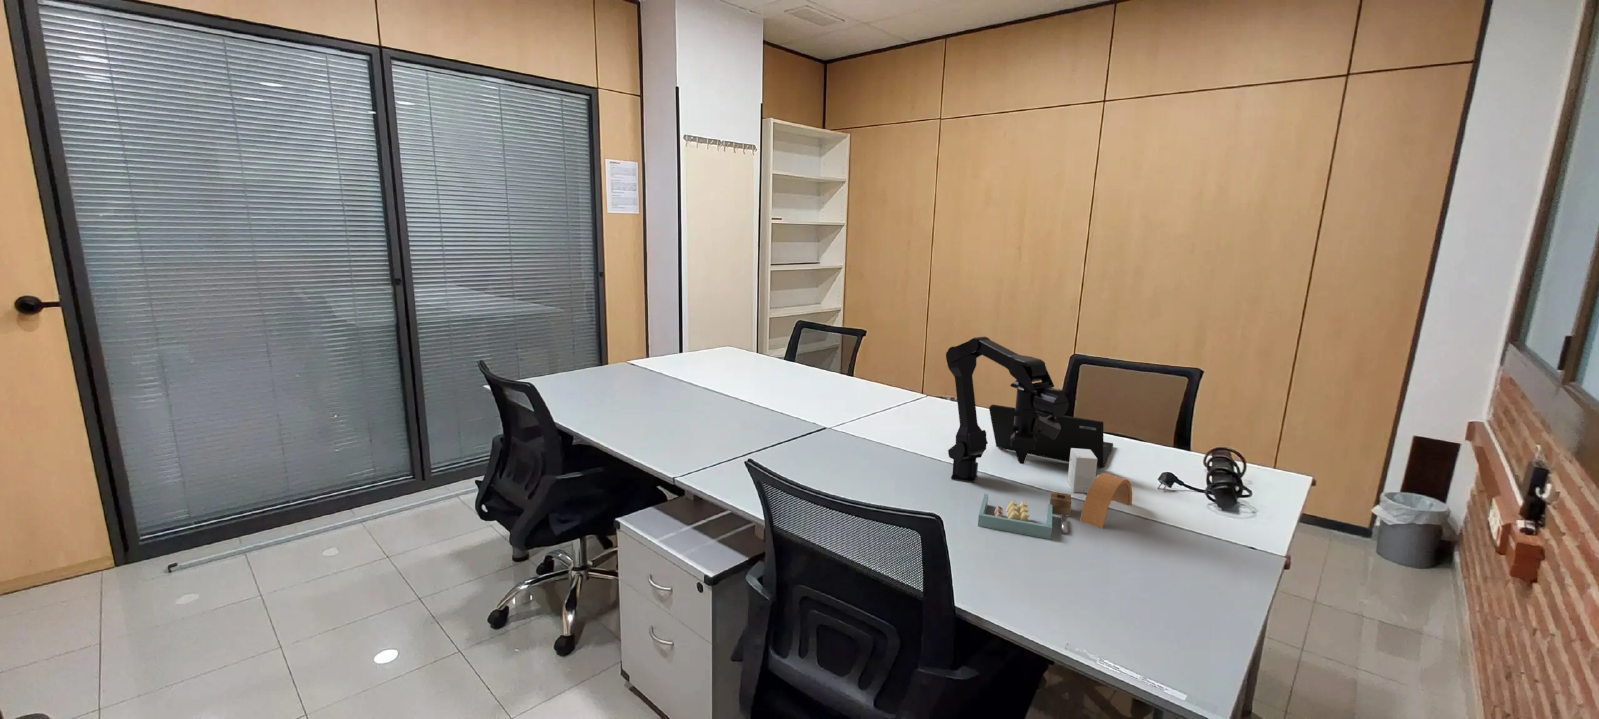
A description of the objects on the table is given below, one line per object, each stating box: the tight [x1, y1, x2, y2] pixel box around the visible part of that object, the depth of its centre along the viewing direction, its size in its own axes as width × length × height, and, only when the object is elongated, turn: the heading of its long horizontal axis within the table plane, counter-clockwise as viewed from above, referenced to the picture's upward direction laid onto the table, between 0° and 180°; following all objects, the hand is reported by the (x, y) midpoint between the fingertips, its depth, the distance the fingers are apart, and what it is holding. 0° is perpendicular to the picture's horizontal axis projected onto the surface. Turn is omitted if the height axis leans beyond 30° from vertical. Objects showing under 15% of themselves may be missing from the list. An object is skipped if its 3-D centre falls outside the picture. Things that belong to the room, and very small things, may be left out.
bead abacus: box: [993, 499, 1030, 522], centre depth 160 cm, size 5×7×8 cm
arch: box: [1079, 472, 1133, 529], centre depth 166 cm, size 6×20×10 cm, turn 134°
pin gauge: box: [1060, 515, 1068, 535], centre depth 158 cm, size 1×8×1 cm, turn 158°
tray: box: [977, 493, 1053, 540], centre depth 161 cm, size 17×14×3 cm
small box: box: [1067, 448, 1098, 494], centre depth 181 cm, size 8×6×10 cm
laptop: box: [989, 404, 1114, 468], centre depth 206 cm, size 33×38×19 cm
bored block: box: [1049, 491, 1072, 517], centre depth 167 cm, size 5×5×4 cm
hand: (1021, 463), depth 168 cm, fingers closed
